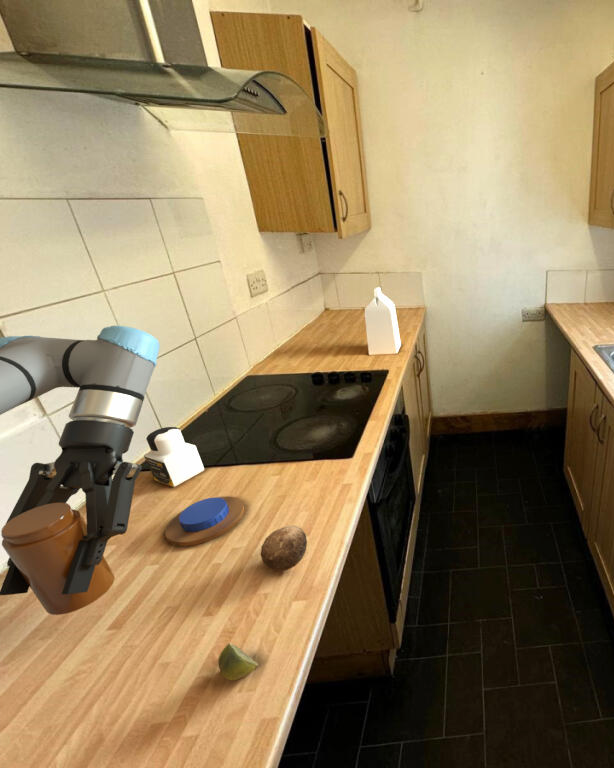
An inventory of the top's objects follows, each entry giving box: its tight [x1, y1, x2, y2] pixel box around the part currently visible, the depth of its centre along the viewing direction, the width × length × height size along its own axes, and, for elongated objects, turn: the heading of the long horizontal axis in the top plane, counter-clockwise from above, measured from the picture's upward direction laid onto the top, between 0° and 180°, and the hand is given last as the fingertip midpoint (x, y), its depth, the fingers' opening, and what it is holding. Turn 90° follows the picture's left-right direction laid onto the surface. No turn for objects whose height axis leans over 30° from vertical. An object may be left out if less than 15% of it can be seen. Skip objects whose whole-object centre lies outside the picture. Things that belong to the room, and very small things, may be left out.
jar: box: [0, 502, 115, 616], centre depth 57 cm, size 7×7×14 cm
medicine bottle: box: [143, 426, 205, 488], centre depth 95 cm, size 7×7×12 cm
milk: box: [364, 286, 402, 356], centre depth 173 cm, size 12×12×26 cm
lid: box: [179, 497, 229, 532], centre depth 83 cm, size 8×8×2 cm
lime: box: [217, 642, 259, 681], centre depth 56 cm, size 4×5×5 cm
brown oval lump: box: [260, 524, 308, 572], centre depth 74 cm, size 8×8×6 cm
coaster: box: [164, 496, 245, 547], centre depth 84 cm, size 13×13×1 cm
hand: (44, 593), depth 55 cm, fingers closed on jar, 7 cm apart
